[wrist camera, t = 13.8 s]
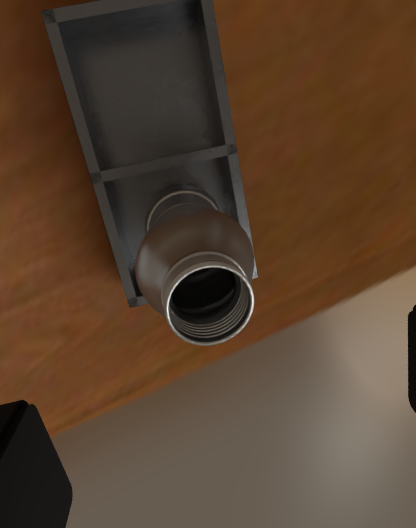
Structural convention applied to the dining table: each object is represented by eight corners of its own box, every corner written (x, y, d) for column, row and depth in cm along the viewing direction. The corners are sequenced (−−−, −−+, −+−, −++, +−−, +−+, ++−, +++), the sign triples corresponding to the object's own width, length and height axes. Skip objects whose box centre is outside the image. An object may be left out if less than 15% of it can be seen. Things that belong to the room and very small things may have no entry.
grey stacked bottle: (229, 226, 34) (317, 319, 15) (170, 264, 34) (185, 403, 15) (192, 167, 32) (240, 190, 13) (130, 209, 32) (90, 291, 13)
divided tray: (60, 34, 28) (40, 11, 24) (201, 8, 29) (209, -20, 24) (133, 287, 35) (129, 307, 31) (244, 261, 36) (257, 277, 31)
